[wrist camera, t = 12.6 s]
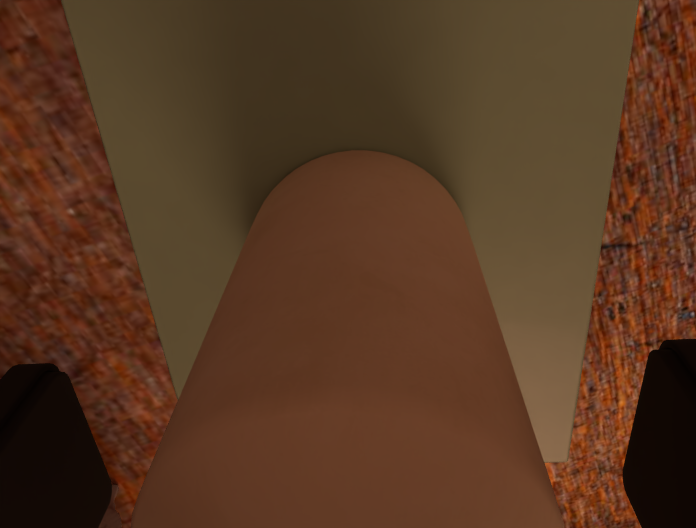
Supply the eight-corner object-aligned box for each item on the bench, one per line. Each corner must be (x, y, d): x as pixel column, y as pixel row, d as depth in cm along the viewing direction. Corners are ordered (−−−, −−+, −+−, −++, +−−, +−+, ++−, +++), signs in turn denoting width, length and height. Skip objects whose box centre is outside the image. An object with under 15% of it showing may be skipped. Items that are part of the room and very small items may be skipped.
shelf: (139, -86, 17) (30, -97, 11) (568, -126, 16) (665, -157, 10) (235, 356, 24) (197, 471, 19) (525, 346, 24) (568, 463, 18)
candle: (506, 188, 14) (729, 615, 5) (420, 359, 16) (472, 832, 8) (283, 114, 13) (109, 460, 4) (231, 305, 16) (58, 756, 7)
